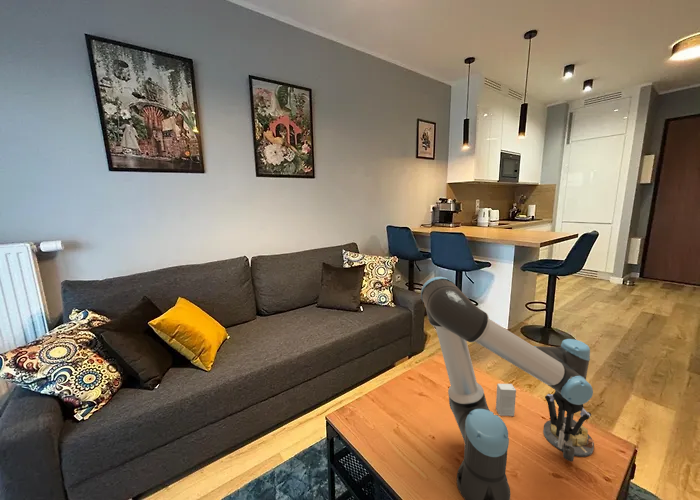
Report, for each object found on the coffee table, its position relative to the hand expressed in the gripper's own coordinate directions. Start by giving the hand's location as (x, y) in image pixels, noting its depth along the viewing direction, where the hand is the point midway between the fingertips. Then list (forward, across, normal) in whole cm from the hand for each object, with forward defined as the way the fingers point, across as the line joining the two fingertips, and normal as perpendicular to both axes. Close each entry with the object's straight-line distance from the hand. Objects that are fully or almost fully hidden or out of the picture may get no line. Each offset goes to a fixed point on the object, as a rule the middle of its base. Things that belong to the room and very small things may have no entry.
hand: (561, 446), depth 104 cm
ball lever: (+1, 0, -5) cm, 5 cm away
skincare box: (+4, +22, -5) cm, 23 cm away
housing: (+3, +1, -9) cm, 10 cm away
